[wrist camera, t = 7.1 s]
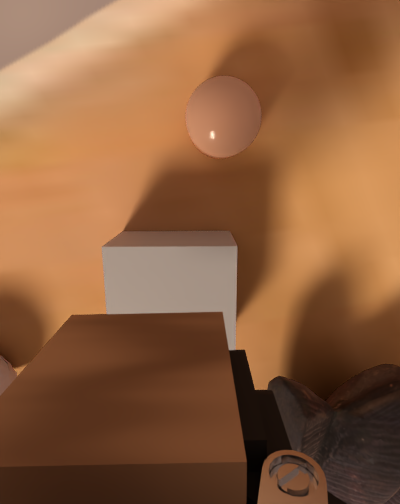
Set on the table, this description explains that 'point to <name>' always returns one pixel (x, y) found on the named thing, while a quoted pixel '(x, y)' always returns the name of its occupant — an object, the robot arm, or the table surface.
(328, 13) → the table surface
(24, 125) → the table surface
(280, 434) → the robot arm
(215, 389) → the brown metal block
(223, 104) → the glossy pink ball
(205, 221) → the table surface
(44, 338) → the table surface
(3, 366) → the headphones
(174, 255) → the grey block
